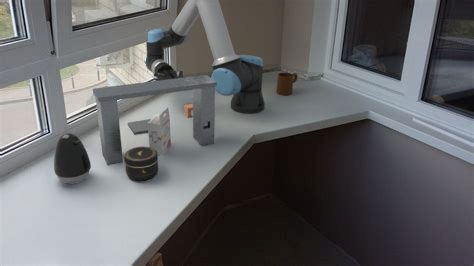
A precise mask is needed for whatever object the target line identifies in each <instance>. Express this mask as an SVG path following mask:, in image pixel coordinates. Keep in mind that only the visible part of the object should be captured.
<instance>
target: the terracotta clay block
mask: <svg viewBox="0 0 474 266" xmlns="http://www.w3.org/2000/svg"><path fill="white" fill-rule="evenodd" d="M183 108H184V116H185V117H186V118H188V119H190V118H193V103H190V104H184V106H183ZM203 126H208V122H203Z"/></svg>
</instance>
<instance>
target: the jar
mask: <svg viewBox="0 0 474 266" xmlns="http://www.w3.org/2000/svg"><path fill="white" fill-rule="evenodd" d="M158 156H159V155H157V151H156V150H155V149H153V148H150V147H149V146H135V147H131V148H129V149H128V150H126V152H125V153H124V156H123V163H124V166H125V174H126V176H127V178H128V179H130V180H131V181H133V182H135V183H137V182H138V183H145V182H149V181H151V180H154V179H155V178H156V177H157V174H158V172H159V171H158V170H159V160H158V159H159V157H158Z"/></svg>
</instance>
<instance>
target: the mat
mask: <svg viewBox="0 0 474 266" xmlns="http://www.w3.org/2000/svg"><path fill="white" fill-rule="evenodd" d="M151 119H152V118H149V119H142V120H141V119H140V120H135V121H129V122H127V126H128V128H129V130H130V131H131V132H132V134H133V135H134V136H137V135H142V134H146V133H147V134H148V124H147V123H148V122H149V121H150V120H151Z"/></svg>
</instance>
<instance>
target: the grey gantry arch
mask: <svg viewBox="0 0 474 266" xmlns="http://www.w3.org/2000/svg"><path fill="white" fill-rule="evenodd" d="M183 77H184V76H183ZM216 86H217V82H216V81H214V80H213V79H211V77H210V76H209V75H207V74H202V75H195V76H187V77H184V78H176V79H168V80H160V81H156V80H153V81H146V82H145V81H144V82H138V83H130V84H129V83H126V84H120V85H112V86H105V87H104V86H102V87H96V88H95V87H94V88H92V93H93V95H94V97H95V103H96V104H95V105H96V112H97V120H98V129H99V130H98V131H99V136H100V146H101V154H102V157H103V159H104V161H105V163H106V165H107V166H112V165H117V164H123V163H124V156H123V146H122V136H121V128H120V118H119V117H120V116H119V108H118V107H119V106H118V101H120V100H125V99H135V98H139V97H140V98H141V97H142V98H143V97H149V96H156V95H164V94H171V93H177V92H184V91H192V93H191V94H192V104H193V117H192V137H193V139H194V140H195V141H196V142H197V144H199V145H200V146H201V147H206V146H211V145H215V136H216V135H215V123H216V122H215V121H216V120H215V118H216V115H215V114H216V112H215V110H216V108H215V107H216V102H215V101H216V98H215V97H216V96H215V95H216V90H215V87H216ZM203 122H208V126H203Z"/></svg>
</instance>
